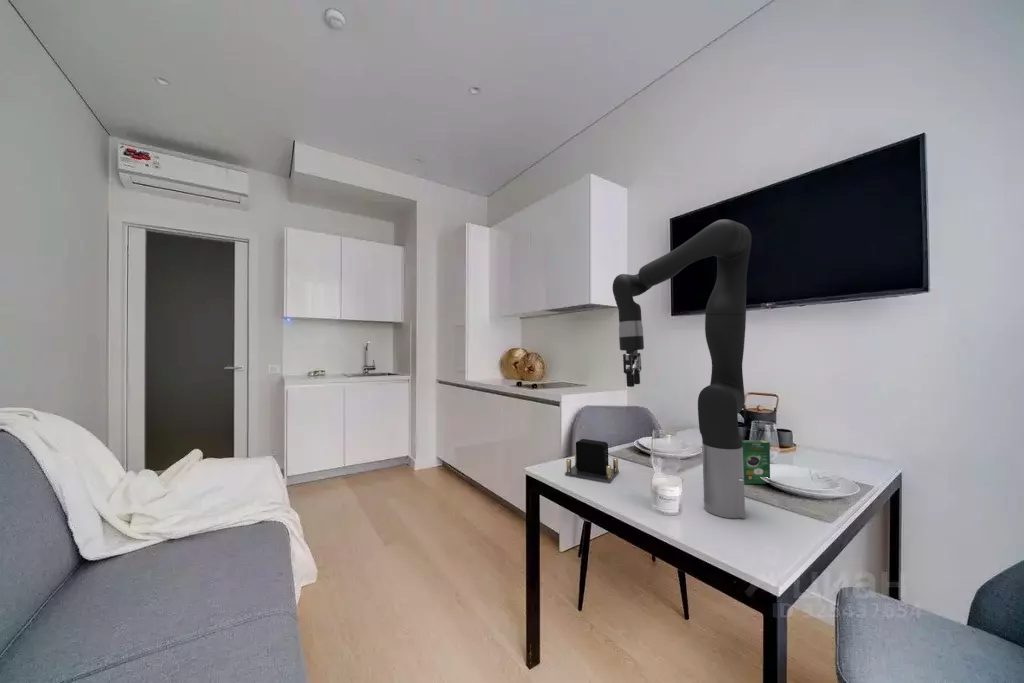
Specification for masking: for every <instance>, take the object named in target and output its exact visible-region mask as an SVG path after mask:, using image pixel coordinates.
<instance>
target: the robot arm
mask: <svg viewBox="0 0 1024 683" xmlns="http://www.w3.org/2000/svg"><path fill="white" fill-rule="evenodd" d="M751 249H752V234H751V232H750V229H749V228H748V227H747V225H745V224H743V223H740V222H737V221H735V220H731V219H728V218H726V219H725V218H724V219H718V220H716V221H714V222H712V223H711V224H709V225H708V226H707V225H706V227H704V228H703V229H701V230H700V231H699V232H697V233H696V234H695V235H693V236H692V237H691V238H689V239H687V241H685V242H683V243H682V244H680V245H679V246H677V247H676V248H674V249H673V250H671V251H669V252H667V253H666V254H664V255H662V256H660V257H657V258H656V259H654V260H652V261H650V262H648V263H646V264H645V265H643V266H641V267H640V268H639V269H638V273H636V274H626V273H621V274H618V275H616V277H615V278H613V282H612V294H613V297H614V300H615V304H616V307H617V309H618V322H619V323H618V340H619V344H618V345H619V351H621V352H622V351H625V353H623V354H622V359H623V360H622V361H623V362H622V363H623V373H624V374H625V377H626V379H625V380H626V386H627V387H629V388H634V387H635V385H640V384H641V374H640V373H641V371H642V359H641V355H642V354H641V352H638V351H640V350H641V351H643V350H644V348H645V345H644V343H645V342H644V327H643V321H642V307H641V305H640V304H639V303H637V302H636V301H635V300H634V297H638V296H640V295H642V294H644V293H646V292H647V291H649V290H650V289H651V288H653V287H654V286H657V285H659V284H661V283H663V282H666V281H668V280H670V279H672V278H674V277H675V276H677V275H678V274H679V273H680V272H681V271H682V270H683V269H685V268H686V267H687V266H689V265H691V264H693V263H696V262H698V261H700V260H702V259H706V258H710V257H713V256H714V257H716V263H717V264H716V265H717V266H716V267H717V271H716V280H715V284H714V286H713V289H712V291H711V293H710V295H709V298H708V300H707V303H706V308H705V317H704V333H705V334H704V335H705V340H706V341H705V342H706V343H707V344H706V345H707V348H708V351H709V355H710V359H711V374H710V384H709V385H706V386H705V387H703V388H702V389H701V390H700V391H699V394H698V396H697V397H698V398H697V416H698V418H697V419H698V429H699V434H700V436H701V439H702V441H701V442H702V444H701V445H702V449H701V450H702V480H703V481H702V482H703V483H702V484H703V507H704V508H703V509H705V510H706V512H708V513H710V514H712V515H714V516H717V517H721V518H727V519H746V504H745V502H746V498H745V484H744V471H743V440H744V438H743V436H742V435H741V434H740V430H739V416H738V414H740V412H741V411H742V410H743V408H744V406H745V401H746V396H745V387H744V375H743V372H744V371H743V361H744V360H743V359H744V351H745V341H746V340H745V337H746V336H745V335H746V327H747V326H746V323H747V322H746V321H747V276H748V274H747V273H748V267H749V262H750V261H749V260H750V254H751Z"/></svg>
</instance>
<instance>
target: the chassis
mask: <svg viewBox="0 0 1024 683" xmlns="http://www.w3.org/2000/svg"><path fill="white" fill-rule="evenodd" d="M565 462H566V466H565V467H566V471H565V477H570V478H571V477H573V478H576V479H577V478H578V479H583V480H588V481H594V482H599V483H605V484H611V483H612V482H613V480H614V479H615V478H616V477H617V476H618V474H619V473H620V470H619V458H615V457H614V458H612V462H613V463H612V465H610V464H609V465H606V473H605V474H604V475H599V474H594V473H588V472H583V471H579V470H577V468H576V452H575V453H574V465H573V466H572V459H571V458H567V459H566V461H565ZM612 466H613V467H612Z"/></svg>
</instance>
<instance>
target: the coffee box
mask: <svg viewBox="0 0 1024 683" xmlns="http://www.w3.org/2000/svg"><path fill="white" fill-rule="evenodd" d="M770 447H771V444H770V442H769V441H767V440H761V439H759V440H757V439H756V440H751V439H750V440H748V439H743V471H744V485H767V484H766V483H765V482H764V481H763V480H762V479H761V478H760V477H768V478H770V479H771V448H770Z"/></svg>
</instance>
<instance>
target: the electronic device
mask: <svg viewBox="0 0 1024 683" xmlns="http://www.w3.org/2000/svg"><path fill="white" fill-rule="evenodd" d="M575 453H576V468H577V470H579V471H583V472H588V473H594V474H599V475H604V474H605V473H606V465H610V464H609V444H608V442H607V441H600V440H594V439H587V438H580V439H578V440H577V441H576V442H575Z"/></svg>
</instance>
